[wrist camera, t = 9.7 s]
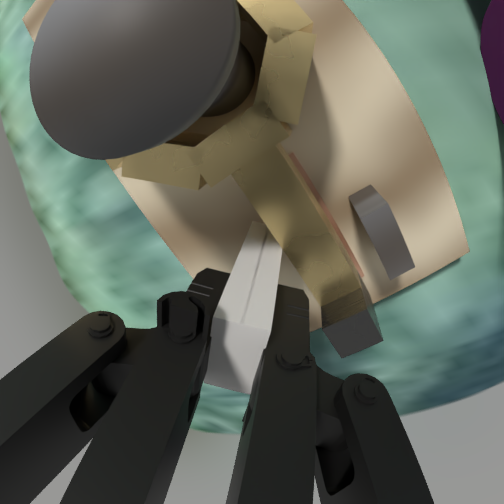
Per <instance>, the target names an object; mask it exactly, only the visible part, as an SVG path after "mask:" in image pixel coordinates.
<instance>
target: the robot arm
mask: <svg viewBox="0 0 504 504" xmlns="http://www.w3.org/2000/svg"><path fill="white" fill-rule="evenodd" d="M281 256H282V248H281V246H280V245H279V243H278V242H277V240H276V239H275V237H274V236H273V234H272V233H271V232H270V230H269V229H268V227H267V226H266V224H263V223H259V222H254V221H252V224H251V226H250V228H249V231H248V233H247V236H246V238H245V240H244V243H243V245H242V248H241V250H240V252H239V255H238V257H237V260H236V262H235V264H234V267H233V269H232V272H231V273H227V272H223V271H219V270H215V269H211V268H205V269H204V270H202V271H200V272H199V273H197V274H196V276H195V278H194V279H193V281H192V284H190V286H189V288H188V290H187V291H186V292H183V291H179V292H171V293H168V294H165V295H163V296H162V297H161V298H160V299H158V300H157V327H156V328H151V329H137V328H125V325H124V322H123V320H122V319H121V318H120V317H119V316H118V315H116V314H114V313H111V312H106V311H97V312H92V313H90V314H88V315H86V316H84V317H82V318H81V319H80V320H78V321H77V322H75V323H74V324H73V325H71V326H70V327H69V328H67V329H66V330H64V331H63V332H62V333H60V334H59V335H58V336H56V337H55V338H54V339H52V340H51V341H50V342H48V343H47V344H46V345H44V346H43V347H42V348H41V349H39V350H38V351H36V352H35V353H34V354H33V355H31V356H30V357H29V358H27V359H26V360H25V361H23V362H22V363H21V364H20V365H18V366H17V367H16V368H14V369H13V370H12V371H11V372H9V373H8V374H7V375H6V376H4V377H3V378H2V379H1V380H0V504H30V503H31V502H32V501H33V500H34V499H35V498H36V496H37V495H39V493H40V492H41V491H42V490H43V489H44V488H45V487H46V486H47V485H48V484H49V483H50V482H51V481H52V480H53V479H54V478H55V477H56V476H57V475H58V474H59V473H60V472H61V471H62V470H63V469H64V468H65V467H66V466H67V464H68V463H69V462H70V461H71V460H72V459H73V458H74V457H75V456H76V455H77V454H78V453H79V452H80V451H81V450H82V449H83V448H84V447H85V446H86V444H88V442H89V441H90V440H91V439H92V438H93V439H92V441H91V443H90V445H89V447H88V449H87V450H86V452H85V454H84V456H83V458H82V460H81V462H80V464H79V466H78V468H77V470H76V472H75V474H74V476H73V478H72V480H71V482H70V484H69V486H68V488H67V490H66V492H65V494H64V496H63V498H62V500H61V502H60V504H163V503H164V501H165V498H166V495H167V492H168V489H169V486H170V483H171V480H172V477H173V474H174V471H175V468H176V465H177V463H178V460H179V456H180V454H181V451H182V448H183V445H184V442H185V439H186V436H187V433H188V430H189V428H190V425H191V422H192V419H193V416H194V413H195V410H196V407H197V404H198V401H199V398H200V391H201V386H202V384H203V381H204V383H206V384H210V385H214V386H218V387H221V388H225V389H229V390H233V391H237V392H242V393H246V394H250V399H249V403H248V406H247V409H246V412H245V414H244V417H243V420H242V422H244V423H243V428H242V432H241V438H240V442H239V447H238V451H237V456H236V460H235V465H234V470H233V474H232V479H231V483H230V487H229V492H228V496H227V501H226V504H313V490H314V475H315V479H316V483H317V488H318V493H319V497H320V502H321V504H434V502H433V499H432V497H431V494H430V491H429V488H428V486H427V483H426V480H425V478H424V475H423V473H422V470H421V468H420V465H419V463H418V460H417V458H416V455H415V453H414V450H413V448H412V445H411V443H410V441H409V438H408V436H407V434H406V431H405V429H404V427H403V424H402V422H401V420H400V417H399V415H398V413H397V411H396V408H395V406H394V404H393V402H392V400H391V397H390V395H389V393H388V391H387V389H386V388H385V386H384V385H383V383H381V382H380V381H379V380H378V379H376V378H375V377H372V376H370V375H368V374H360V373H357V374H354V375H350V376H349V377H348V378H346V379H345V380H342V379H339V378H337V377H335V376H332V375H330V374H328V373H326V372H325V371H323V370H322V369H321V368H319V367H318V366H317V365H316V362H315V358H314V356H313V355H312V354H311V353H310V322H309V299H308V297H307V295H306V294H305V292H304V290H302V289H298V288H294V287H289V286H285V285H281V284H278V278H279V271H280V263H281Z"/></svg>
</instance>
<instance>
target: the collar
mask: <svg viewBox="0 0 504 504" xmlns="http://www.w3.org/2000/svg"><path fill="white" fill-rule="evenodd" d="M236 3H237V6H238V10H239V16H240V21H247V22H248V23H249V24H250V25H251V27H252V28H253V29H254V30H255V31H256V32H257V34H258V35H259V36H260V37H261V38H262V40H263V41H264V42H265V43H266V47H265V52H264V57H263V62H262V67H261V72H260V77H259V82H258V87H257V92H256V97H255V102H254V105H253V106H252V107H250V108H249V109H247V110H246V111H244V112H243V113H241V114H240V115H238V116H237V117H235V118H234V119H232V120H231V121H229V122H228V123H227V124H225V125H224V126H222V127H221V128H220V129H218V130H217V131H215V132H214V133H213V134H211V135H206V134H199V133H192V132H185V131H183V132H182V133H180V134H179V135H178V136H176V137H175V138H173V139H171V140H169V141H167V142H165V143H163V144H162V145H159V146H156V147H154V148H151V149H149V150H145V151H142V152H139V153H136V154H133V155H129V156H125V157H121V158H117V159H107V160H106V162H107V163H108V165H109V166H110V168H111V169H112V170H116V169H118V168H121V167H122V175H121V177H127V178H133V179H139V180H145V181H150V182H156V183H161V184H167V185H172V186H178V187H183V188H188V189H193V190H200V189H201V188H202V187H203V186H205V185H206V184H207V183H208V185H209V186H210V187H211V188H212V187H213V186H214V185H216V184H217V183H219V182H220V181H222V180H223V179H225V178H226V177H228V176H229V175H232V177H233V178H234V180H235V181H236V182H237V184H238V185H239V187H240V188H241V190H242V191H243V192H244V194H245V195H246V197H247V198H248V200H249V201H250V203H251V204H252V205H253V207H254V208H255V210H256V211H257V213H258V214H259V216H260V217H261V218H262V220H263V221H264V223H265V224H266V226H267V227H268V229H269V230H270V232H271V233H272V234H273V236H274V237H275V239H276V240H277V242H278V243H279V245H280V246H281V248H282V249H283V251H284V252H285V254H286V255H287V257H288V258H289V260H290V261H291V263H292V264H293V266H294V267H295V269H296V270H297V272H298V273H299V275H300V276H301V278H302V279H303V281H304V282H305V284H306V285H307V287H308V288H309V290H310V291H311V293H312V294H313V296H314V297H315V299H316V300H317V302H318V303H319V305H320V306H321V320H322V330H323V332H324V333H325V334H326V336H327V337H328V339H329V340H330V342H331V343H332V345H333V346H334V348H335V349H336V351H337V352H338V354H339V355H340V357H341V358H344V357H346V356H349V355H351V354H354V353H356V352H359V351H361V350H363V349H366V348H368V347H370V346H373V345H375V344H377V343H379V342H381V341H383V338H382V334H381V330H380V327H379V323H378V320H377V316H376V313H375V309H374V306H373V303H372V299H371V296H370V294H369V292H368V290H367V288H366V286H365V284H364V282H363V280H362V278H361V276H360V274H359V273H358V271H357V269H356V267H355V265H354V263H353V261H352V260H351V258H350V256H349V254H348V252H347V251H346V249H345V247H344V245H343V243H342V242H341V240H340V238H339V236H338V235H337V233H336V231H335V230H334V228H333V226H332V224H331V223H330V221H329V219H328V218H327V216H326V214H325V213H324V211H323V209H322V208H321V206H320V204H319V203H318V201H317V199H316V198H315V196H314V194H313V193H312V191H311V190H310V188H309V186H308V185H307V183H306V182H305V180H304V178H303V177H302V175H301V174H300V172H299V171H298V169H297V167H296V166H295V164H294V163H293V161H292V160H291V158H290V157H289V155H288V154H287V152H286V151H285V149H284V148H283V146H282V145H281V143H280V142H282V141H283V140H285V139H287V138H288V137H290V135H291V133H292V131H293V130H292V129H291V127H290V126H289V124H288V123H291V124H296V125H298V123H299V118H300V113H301V109H302V104H303V99H304V94H305V90H306V85H307V80H308V75H309V70H310V66H311V61H312V56H313V51H314V46H315V41H316V36H317V35H316V34H312V28H313V21H312V20H311V19H310V18H309V17H308V15H307V14H306V13H305V12H304V11H303V10H302V8H301V7H300V6H299V5H298V4H297V3H296V2H295V1H294V0H236Z"/></svg>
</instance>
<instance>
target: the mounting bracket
mask: <svg viewBox="0 0 504 504" xmlns="http://www.w3.org/2000/svg"><path fill="white" fill-rule="evenodd" d="M481 54H482V58H483V62H484V66H485V70H486V74H487V78H488V82H489V87H490V92H491V97H492V101H493V103H494V106H495V108H496V110H497V112H498V115H499V117H500V119H501V120H502V122H503V124H504V0H491V2H490V4H489V6H488V8H487V10H486V13H485V15H484V19H483V23H482V28H481Z"/></svg>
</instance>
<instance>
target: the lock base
mask: <svg viewBox="0 0 504 504" xmlns="http://www.w3.org/2000/svg"><path fill="white" fill-rule="evenodd" d="M294 1H295V2H296V3H297V4H298V5H299V6H300V7H301V8H302V10H303V11H304V12H305V13H306V14H307V15H308V17H309V18H310V19H311V20H312V21H313V28H312V34H316V35H317V36H316V41H315V46H314V51H313V56H312V61H311V66H310V70H309V75H308V80H307V85H306V90H305V94H304V99H303V104H302V109H301V113H300V118H299V123H298V125H296V124H291V123H288V124H289V126H290V127H291V129H292V130H293V131H292V133H291V135H290V137H288V138H287V139H285V140H283V141H282V142H280V143H281V145H282V146H283V148H284V149H285V151H286V152H287V154H288V155H289V157H290V158H291V160H292V161H293V163H294V164H295V166H296V167H297V169H298V171H299V172H300V174H301V175H302V177H303V178H304V180H305V182H306V183H307V185H308V186H309V188H310V190H311V191H312V193H313V194H314V196H315V198H316V199H317V201H318V203H319V204H320V206H321V208H322V209H323V211H324V213H325V214H326V216H327V218H328V219H329V221H330V223H331V224H332V226H333V228H334V230H335V231H336V233H337V235H338V236H339V238H340V240H341V242H342V243H343V245H344V247H345V249H346V251H347V252H348V254H349V256H350V258H351V260H352V261H353V263H354V265H355V267H356V269H357V271H358V273H359V274H360V276H361V278H362V280H363V282H364V284H365V286H366V288H367V290H368V292H369V294H370V296H371V299H372V303H373V304H374V303H376V302H378V301H380V300H382V299H384V298H386V297H388V296H390V295H392V294H394V293H396V292H398V291H400V290H402V289H404V288H406V287H408V286H410V285H412V284H413V283H415V282H417V281H419V280H421V279H423V278H425V277H426V276H428V275H430V274H432V273H434V272H435V271H437V270H439V269H441V268H443V267H444V266H446V265H448V264H449V263H451V262H453V261H455V260H456V259H458V258H460V257H461V256H463V255H465V254H466V253H468V252H470V251H469V247H468V243H467V239H466V235H465V232H464V228H463V225H462V221H461V218H460V215H459V212H458V209H457V206H456V203H455V200H454V197H453V194H452V191H451V188H450V185H449V183H448V180H447V177H446V175H445V172H444V170H443V167H442V165H441V162H440V160H439V158H438V155H437V153H436V151H435V148H434V146H433V144H432V142H431V139H430V137H429V135H428V133H427V131H426V129H425V127H424V125H423V123H422V121H421V119H420V117H419V115H418V113H417V111H416V109H415V107H414V105H413V103H412V101H411V100H410V98H409V96H408V94H407V92H406V91H405V89H404V87H403V85H402V84H401V82H400V80H399V79H398V77H397V75H396V74H395V72H394V70H393V69H392V67H391V66H390V64H389V63H388V61H387V59H386V58H385V56H384V55H383V53H382V52H381V50H380V49H379V48H378V46H377V45H376V43H375V42H374V40H373V39H372V38H371V36H370V35H369V33H368V32H367V31H366V29H365V28H364V27H363V25H362V24H361V23H360V21H359V20H358V19H357V18H356V16H355V15H354V14H353V13H352V11H351V10H350V9H349V8H348V6H347V5H346V4H345V3H344V2H343V1H342V0H294ZM22 20H23V22H24V24H25V26H26V28H27V29H28V31H29V33H30V35H31V37H32V39H33V41H34V46H33V50H32V55H31V62H30V91H31V97H32V102H33V105H34V108H35V111H36V114H37V116H38V118H39V120H40V122H41V124H42V126H43V127H44V129H45V130H46V132H47V133H48V134H49V135H50V137H51V138H52V139H53V140H54V141H55V142H56V143H58V144H59V145H60V146H61V147H63V148H64V149H66V150H68V151H69V152H71V153H73V154H76V155H78V156H81V157H85V158H90V159H100V160H107V159H117V158H121V157H125V156H129V155H133V154H136V153H139V152H142V151H145V150H149V149H151V148H154V147H156V146H159V145H162V144H163V143H165V142H167V141H169V140H171V139H173V138H175V137H176V136H178V135H179V134H180V133H182V132H183V131H185V132H192V133H199V134H206V135H211V134H213V133H214V132H215V131H217V130H218V129H220V128H221V127H222V126H224V125H225V124H227V123H228V122H229V121H231V120H232V119H234V118H235V117H237V116H238V115H240V114H241V113H243V112H244V111H246V110H247V109H249V108H250V107H252V106H253V105H254V102H255V97H256V92H257V87H258V82H259V77H260V72H261V67H262V62H263V57H264V52H265V47H266V43H265V42H264V41H263V40H262V38H261V37H260V36H259V35H258V34H257V32H256V31H255V30H254V29H253V28H252V27H251V25H250V24H249V23H248V22H247V21H240V16H239V10H238V6H237V3H236V0H36V1H35V2H34V4H33V5H32V6H31V8H30V9H29V10H28V12H27V13H26V14H25V16H24V17H23V18H22ZM113 171H114V173H115V174H116V176H117V177H118V179H119V180H120V181H121V183H122V184H123V186H124V187H125V189H126V190H127V191H128V193H129V194H130V196H131V197H132V198H133V200H134V201H135V203H136V204H137V205H138V207H139V208H140V210H141V211H142V212H143V214H144V215H145V216H146V218H147V219H148V220H149V222H150V223H151V224H152V226H153V227H154V229H155V230H156V231H157V233H158V234H159V235H160V236H161V238H162V239H163V240H164V242H165V243H166V244H167V246H168V247H169V248H170V250H171V251H172V252H173V254H174V255H175V256H176V257H177V259H178V260H179V261H180V263H181V264H182V265H183V266H184V268H185V269H186V270H187V271H188V273H189V274H190V275H191V276H192V278H193V279H194V278H195V276H196V274H197V273H199V272H200V271H202V270H204V269H205V268H211V269H215V270H219V271H223V272H227V273H231V272H232V269H233V267H234V264H235V262H236V260H237V257H238V255H239V252H240V250H241V248H242V245H243V243H244V240H245V238H246V236H247V233H248V231H249V228H250V226H251V224H252V221H254V222H259V223H263V224H265V223H264V221H263V220H262V218H261V217H260V216H259V214H258V213H257V211H256V210H255V208H254V207H253V205H252V204H251V203H250V201H249V200H248V198H247V197H246V195H245V194H244V192H243V191H242V190H241V188H240V187H239V185H238V184H237V182H236V181H235V180H234V178H233V177H232V175H229V176H228V177H226V178H225V179H223V180H222V181H220V182H219V183H217V184H216V185H214V186H213V187H212V188H211V187H210V186H209V185H208V183H207V184H206V185H205V186H203V187H202V188H201V189H200V190H193V189H188V188H183V187H178V186H172V185H167V184H161V183H156V182H150V181H145V180H139V179H133V178H127V177H121V175H122V167H121V168H118V169H116V170H113ZM278 284H281V285H285V286H289V287H294V288H298V289H302V290H304V292H305V294H306V295H307V297H308V299H309V322H310V332H312V331H314V330H317V329H319V328H321V327H322V320H321V306H320V305H319V303H318V302H317V300H316V299H315V297H314V296H313V294H312V293H311V291H310V290H309V288H308V287H307V285H306V284H305V282H304V281H303V279H302V278H301V276H300V275H299V273H298V272H297V270H296V269H295V267H294V266H293V264H292V263H291V261H290V260H289V258H288V257H287V255H286V254H285V252H284V251H283V249H282V256H281V263H280V271H279V278H278Z"/></svg>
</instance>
